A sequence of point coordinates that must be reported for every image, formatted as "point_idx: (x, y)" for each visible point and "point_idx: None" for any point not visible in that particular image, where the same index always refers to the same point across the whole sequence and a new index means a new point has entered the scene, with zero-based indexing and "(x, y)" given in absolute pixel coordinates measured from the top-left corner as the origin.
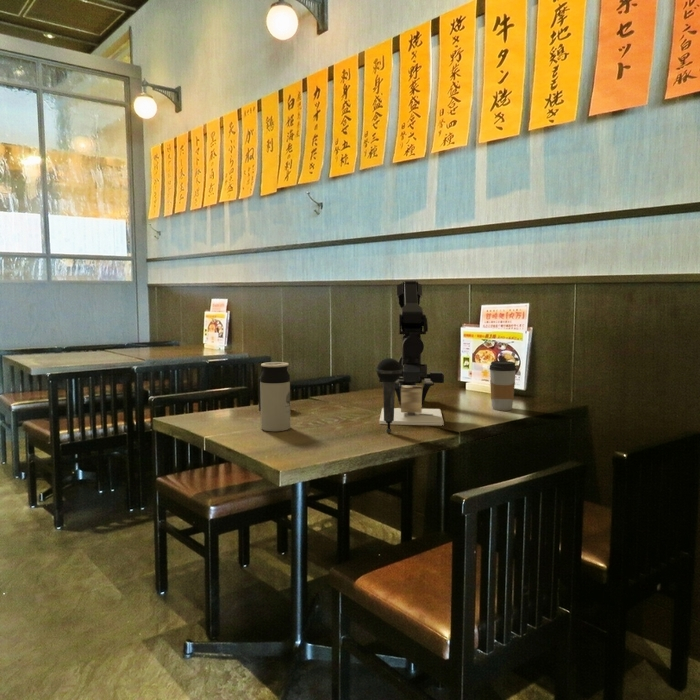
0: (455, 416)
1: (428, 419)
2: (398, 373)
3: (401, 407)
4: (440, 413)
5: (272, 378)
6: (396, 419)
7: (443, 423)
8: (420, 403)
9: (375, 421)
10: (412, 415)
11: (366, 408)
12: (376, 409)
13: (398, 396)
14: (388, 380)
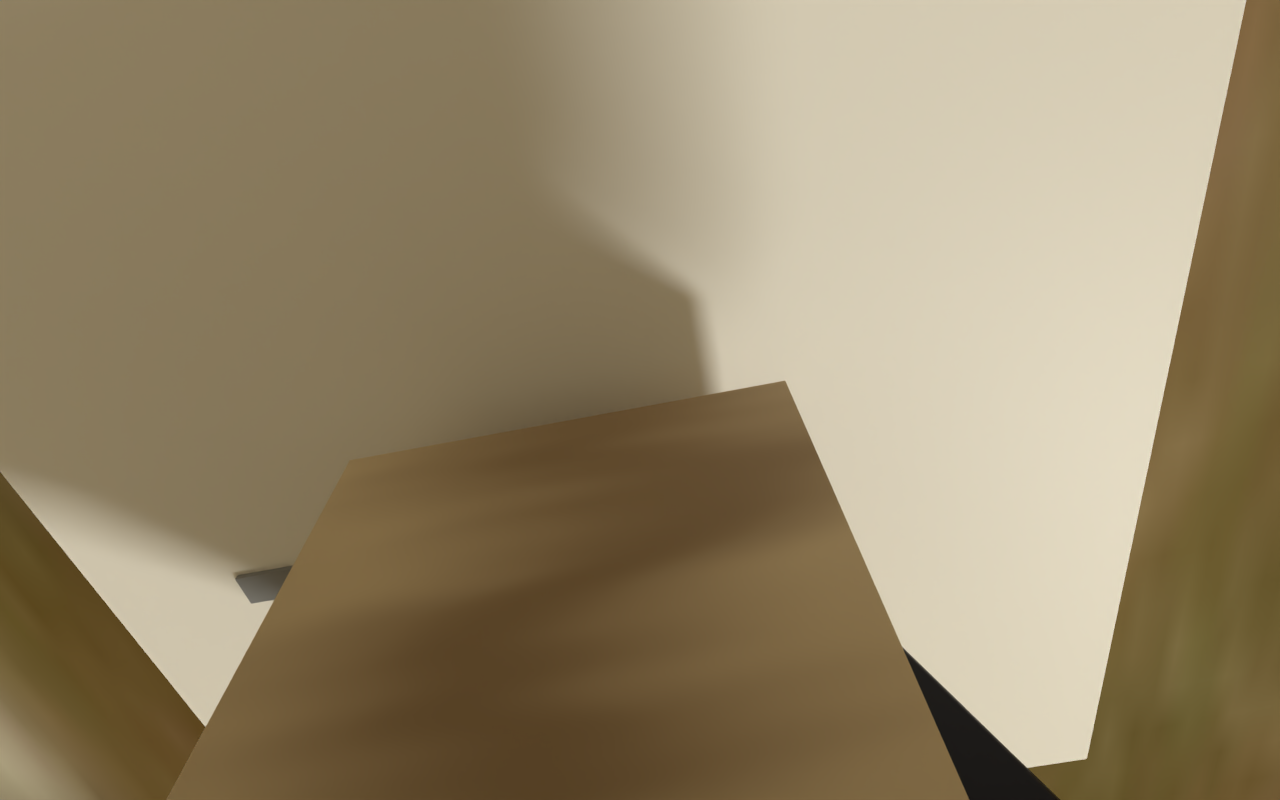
0: (42, 714)
1: (141, 230)
2: None
3: (799, 441)
4: (189, 692)
5: None
6: (836, 10)
7: None
8: (302, 609)
9: (1274, 29)
10: None
11: (1250, 776)
12: (1127, 766)
13: (987, 768)
14: None
